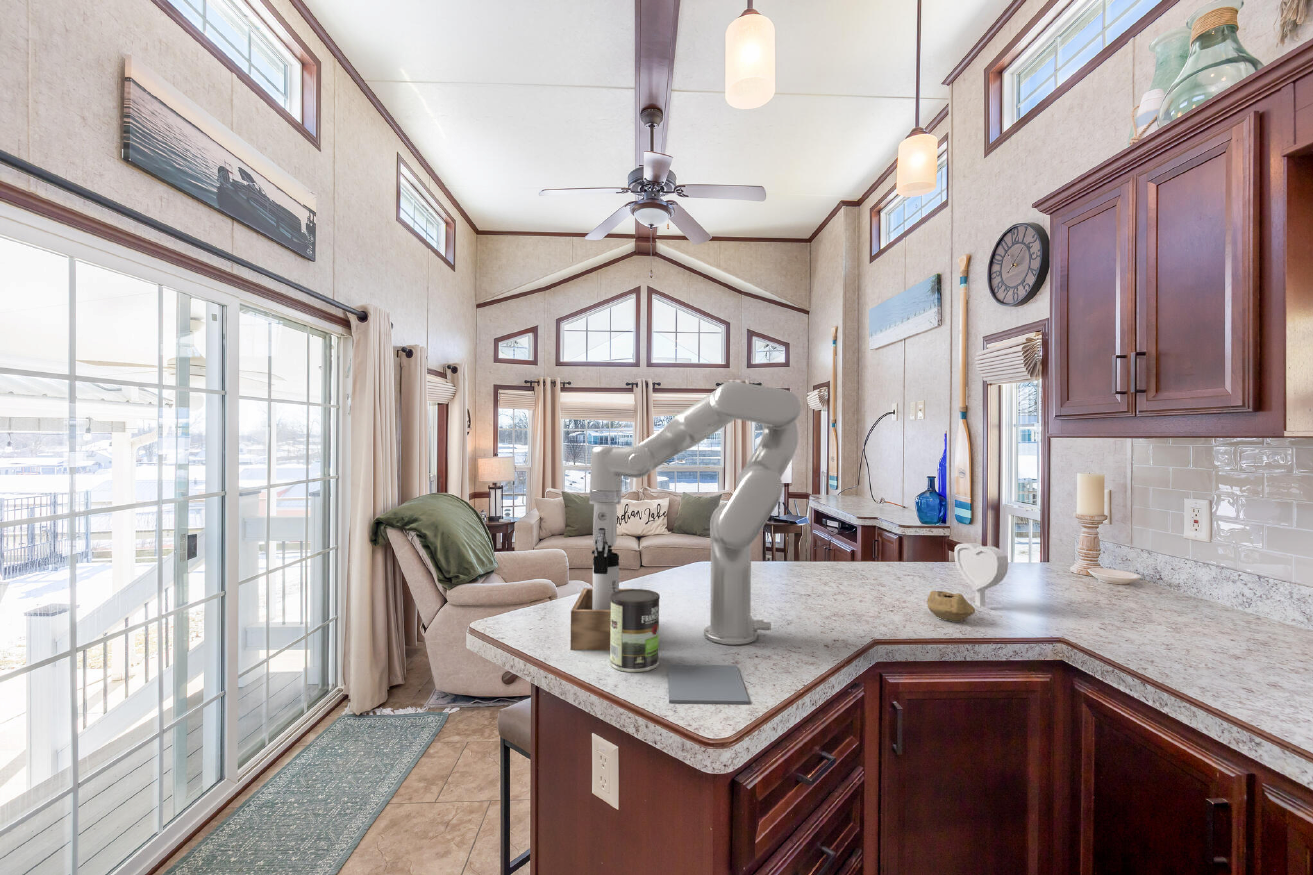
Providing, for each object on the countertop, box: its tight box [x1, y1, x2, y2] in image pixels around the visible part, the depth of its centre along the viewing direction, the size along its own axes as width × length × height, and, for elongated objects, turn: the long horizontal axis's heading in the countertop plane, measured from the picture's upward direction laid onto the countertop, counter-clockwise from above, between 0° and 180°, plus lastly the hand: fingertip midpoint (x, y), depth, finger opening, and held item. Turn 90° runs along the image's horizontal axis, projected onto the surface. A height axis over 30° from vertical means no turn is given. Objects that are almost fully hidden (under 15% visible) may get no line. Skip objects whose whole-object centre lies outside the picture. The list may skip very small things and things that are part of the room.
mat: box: [667, 663, 750, 705], centre depth 105 cm, size 14×16×1 cm
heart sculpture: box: [953, 542, 1009, 608], centre depth 157 cm, size 16×5×18 cm, turn 13°
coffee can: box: [609, 588, 661, 673], centre depth 115 cm, size 10×10×14 cm
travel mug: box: [591, 549, 620, 610], centre depth 132 cm, size 6×7×20 cm
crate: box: [569, 587, 627, 651], centre depth 132 cm, size 13×20×8 cm, turn 179°
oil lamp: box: [926, 590, 976, 622], centre depth 148 cm, size 11×15×8 cm
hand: (602, 569), depth 132 cm, fingers open, 9 cm apart
